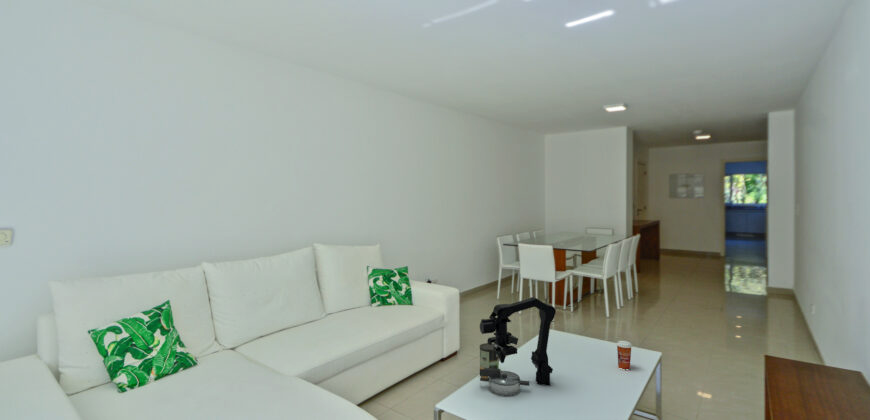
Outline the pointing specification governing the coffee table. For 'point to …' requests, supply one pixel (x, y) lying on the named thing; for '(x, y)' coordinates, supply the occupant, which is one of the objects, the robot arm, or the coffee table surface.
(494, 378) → the lid
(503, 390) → the pot
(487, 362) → the coffee can
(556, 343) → the coffee table surface
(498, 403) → the coffee table surface
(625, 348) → the paper cup
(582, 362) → the coffee table surface
